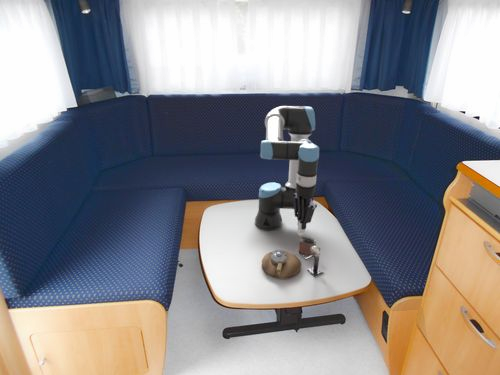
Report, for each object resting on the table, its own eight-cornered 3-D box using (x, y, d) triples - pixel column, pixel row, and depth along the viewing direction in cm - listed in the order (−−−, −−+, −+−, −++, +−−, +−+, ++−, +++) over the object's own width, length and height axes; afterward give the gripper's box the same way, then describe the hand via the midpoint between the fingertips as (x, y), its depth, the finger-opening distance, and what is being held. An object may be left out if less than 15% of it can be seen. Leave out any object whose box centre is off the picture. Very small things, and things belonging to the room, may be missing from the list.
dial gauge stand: (301, 273, 157) (304, 246, 150) (315, 267, 161) (318, 241, 154) (308, 279, 153) (311, 252, 147) (323, 273, 157) (326, 246, 151)
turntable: (258, 275, 154) (258, 266, 152) (265, 251, 170) (266, 242, 168) (298, 282, 151) (299, 273, 148) (302, 257, 166) (303, 248, 164)
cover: (269, 265, 158) (269, 256, 155) (272, 255, 164) (273, 247, 162) (284, 267, 156) (285, 258, 154) (287, 258, 162) (288, 249, 160)
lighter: (315, 253, 170) (317, 236, 165) (314, 257, 167) (316, 240, 163) (299, 250, 172) (300, 233, 168) (297, 254, 169) (299, 237, 165)
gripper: (288, 179, 139) (284, 229, 149) (309, 192, 129) (303, 244, 139) (302, 175, 142) (298, 224, 153) (324, 187, 132) (318, 239, 142)
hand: (301, 234), depth 146 cm, fingers closed
